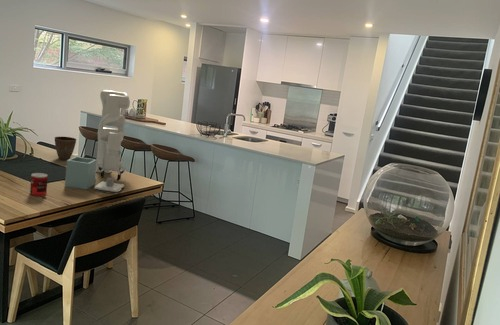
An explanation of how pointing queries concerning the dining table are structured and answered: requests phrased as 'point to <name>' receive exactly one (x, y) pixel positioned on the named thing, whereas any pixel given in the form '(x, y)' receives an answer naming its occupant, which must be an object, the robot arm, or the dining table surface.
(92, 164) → the tub
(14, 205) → the dining table surface
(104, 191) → the mat
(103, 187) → the lid
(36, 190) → the canned food
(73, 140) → the plant pot
